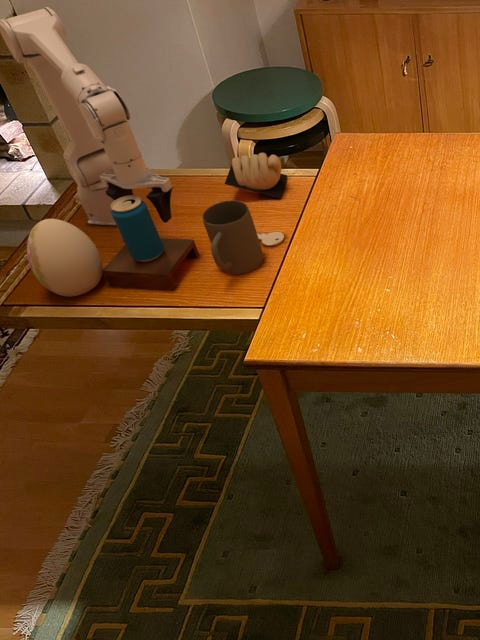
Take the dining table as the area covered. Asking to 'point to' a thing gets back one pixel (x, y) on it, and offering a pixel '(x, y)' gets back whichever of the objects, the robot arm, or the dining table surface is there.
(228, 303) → the dining table surface
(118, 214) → the beverage can
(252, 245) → the mug
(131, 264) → the shelf
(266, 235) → the key
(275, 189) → the decorative object
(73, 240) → the decorative egg
